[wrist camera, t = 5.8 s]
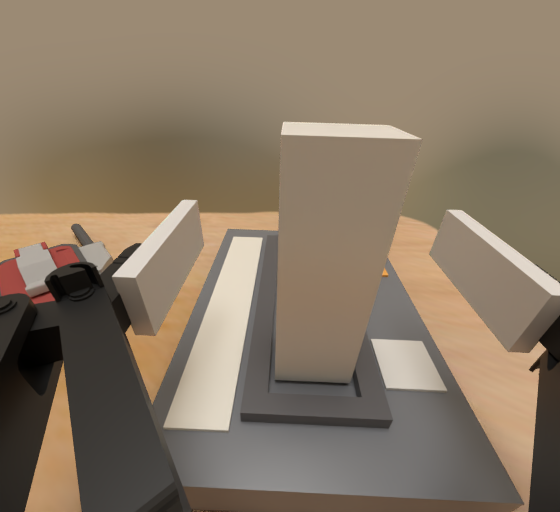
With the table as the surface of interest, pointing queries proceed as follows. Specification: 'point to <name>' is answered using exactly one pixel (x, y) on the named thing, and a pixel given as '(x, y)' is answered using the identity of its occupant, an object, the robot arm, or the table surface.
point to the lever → (334, 240)
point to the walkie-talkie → (48, 265)
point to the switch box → (318, 409)
